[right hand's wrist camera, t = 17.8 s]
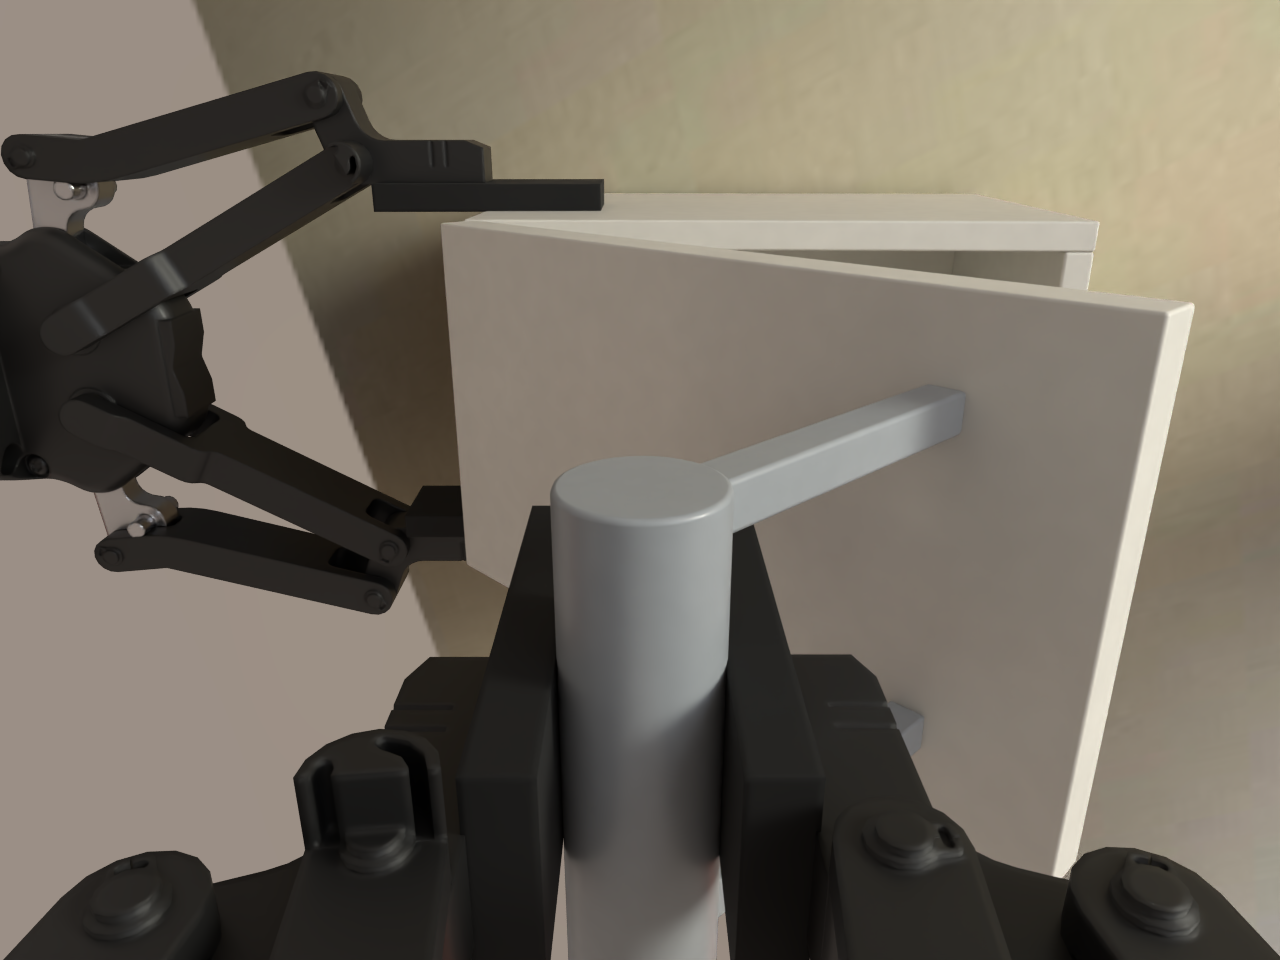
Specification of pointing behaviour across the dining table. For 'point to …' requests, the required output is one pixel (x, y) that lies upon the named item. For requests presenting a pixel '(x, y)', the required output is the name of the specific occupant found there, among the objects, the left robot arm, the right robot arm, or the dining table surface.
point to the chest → (852, 230)
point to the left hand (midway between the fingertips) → (604, 362)
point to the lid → (804, 526)
